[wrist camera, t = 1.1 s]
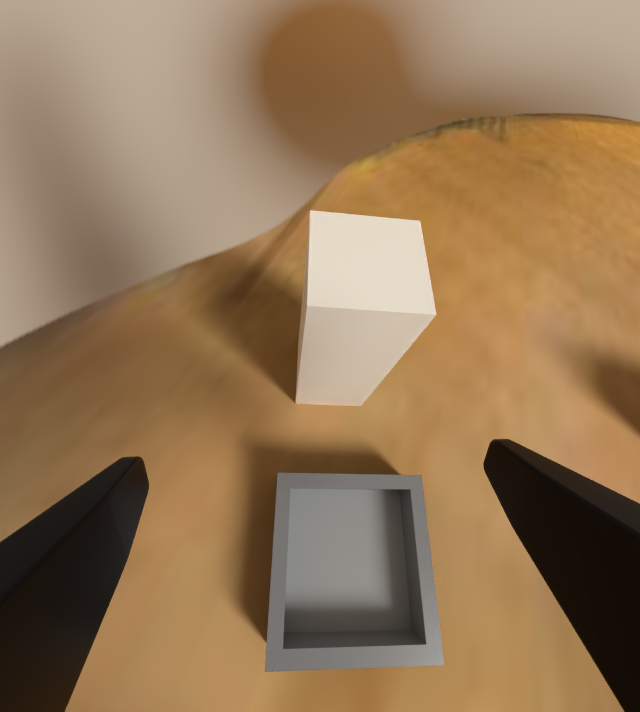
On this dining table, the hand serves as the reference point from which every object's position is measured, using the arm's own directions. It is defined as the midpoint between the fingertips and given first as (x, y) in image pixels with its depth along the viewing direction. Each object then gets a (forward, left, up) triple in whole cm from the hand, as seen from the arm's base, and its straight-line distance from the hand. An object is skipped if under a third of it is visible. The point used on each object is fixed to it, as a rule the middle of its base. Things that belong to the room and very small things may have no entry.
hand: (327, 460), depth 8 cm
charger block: (+3, -8, -14) cm, 17 cm away
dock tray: (-5, +1, -14) cm, 15 cm away
